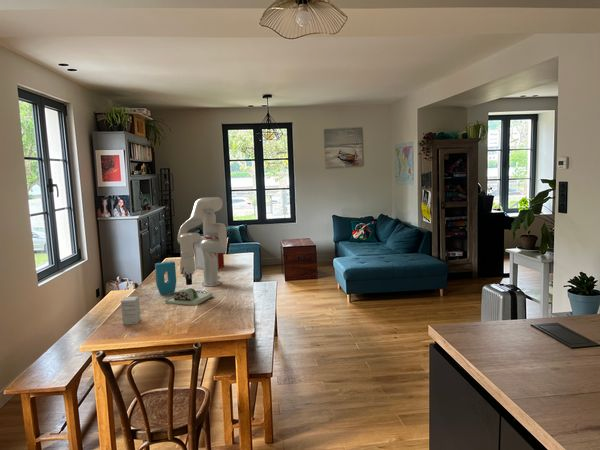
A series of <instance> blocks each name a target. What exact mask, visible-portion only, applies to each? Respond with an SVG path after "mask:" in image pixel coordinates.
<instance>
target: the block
mask: <svg viewBox="0 0 600 450" xmlns="http://www.w3.org/2000/svg"><path fill="white" fill-rule="evenodd" d="M154 268H155V270H154V271H155V283H156V288H157V290H158V292H159V294H160V296H165V295H171V294H175V293H176V292H175V291H176V286H177V270H176V261H164V262H157V263H154ZM166 273H167V280H165V274H166ZM165 281H166V282H165Z"/></svg>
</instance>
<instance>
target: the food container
mask: <svg viewBox="0 0 600 450" xmlns="http://www.w3.org/2000/svg"><path fill="white" fill-rule="evenodd" d="M197 293H198V292H197V291H196V290H195V288H187V289H180V290H178V291H177V292H175V293H174V295H175V297H174V300H189V301H193V300H194V299H195V298H197V297H198V294H197Z"/></svg>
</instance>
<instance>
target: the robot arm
mask: <svg viewBox="0 0 600 450" xmlns="http://www.w3.org/2000/svg"><path fill="white" fill-rule="evenodd" d="M223 205H224V203H223V199H222V198H221V197H217V196H214V197H200V198H198V199H197V200H195V202H194V203H193V206H192V210H191V213H190V217H189V219H187V220H186V221H185V222H183V223H182V225H181V226H180V228H179V229H178V234H177V242H178V244H179V246H180V259H179V260H180V265H179V266H180V267H179V268H180V269H179V272H180V273H179V274H181V275H182V277H184V278H185V284H186V286H191V285H193V275H194V273H195V271H196V267H195V251H194V245H197V244H199V243H200V242H201V236H202V235H201V234H200V233H199V232H189V230H191V229H194V228H196V227H199V226H200V225H202V233H203V236H206V237H219V239H205V240H203V241H202V242H201V251H202V256H203V269H204V270H203V282H202V283H201V285H202V287H216V286H219V285H221V281H220V280H219V279H221V276H220V275H219V272H218V270H219V268H217V258H216V256H215V255H214V253H225V252H226V250H227V242H228V241H227V240H228V239H227V238H228V237H227V235H228V233H227V231H228V230H227V227H226V225H225V223H221V222H216V221H217V220H216V219H217V215H216V214H215V212H218V211H220V210H222V208H223Z"/></svg>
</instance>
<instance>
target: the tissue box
mask: <svg viewBox="0 0 600 450" xmlns="http://www.w3.org/2000/svg"><path fill="white" fill-rule="evenodd" d="M205 239H219V237H206V236H204V235H201V242H202V241H203V240H205ZM201 242H200V243H199V244H197V245H193V252H194V262H195V270H198V271H204V269H203V256H202V251H201ZM224 253H225V252H223V253H214V255H215V256H216V258H217V268H218V269H221V268H224V267H225V257H224V255H225V254H224Z"/></svg>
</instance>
